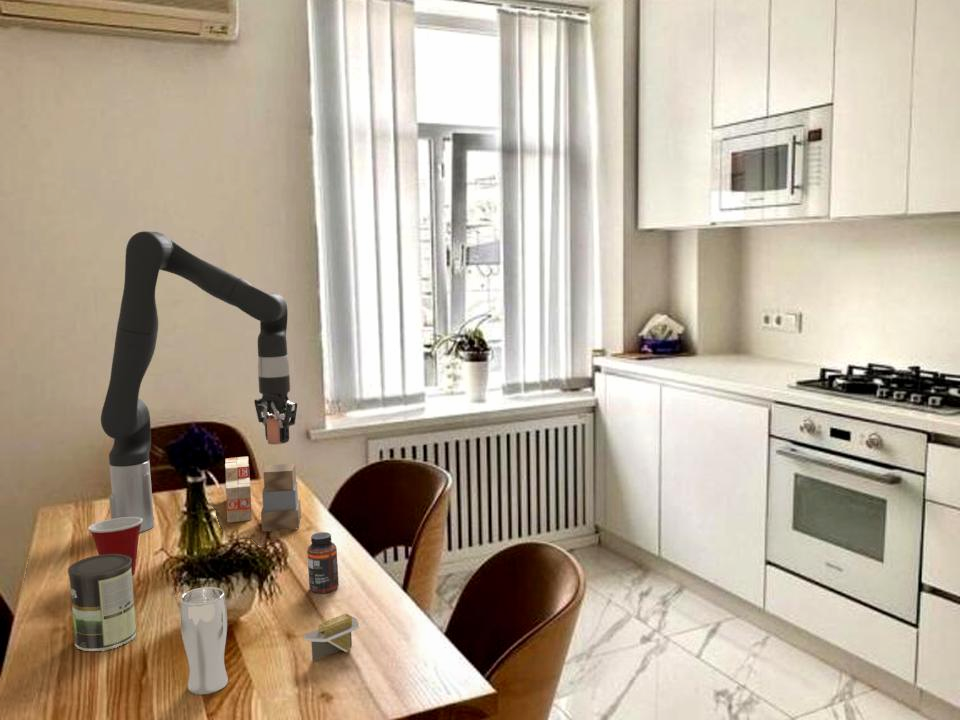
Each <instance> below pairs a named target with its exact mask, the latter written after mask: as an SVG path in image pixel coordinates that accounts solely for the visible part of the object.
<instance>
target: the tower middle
mask: <svg viewBox="0 0 960 720" xmlns="http://www.w3.org/2000/svg"><path fill="white" fill-rule="evenodd" d="M298 491H299V490H298V481H296V484H295V487H294V490H288V491H269V492H265V490H264V488H263V489H262V492H261V493H262V508H263V512H270V511H284V510H296V508H297V503H298V500H299V494H298Z"/></svg>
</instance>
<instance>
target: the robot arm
mask: <svg viewBox="0 0 960 720" xmlns="http://www.w3.org/2000/svg"><path fill="white" fill-rule="evenodd" d="M124 262H125V263H124V286H123V292H122V296H121V303H120V310H119V315H118V320H117V326H116V327H117V328H116V333H115V339H114V340H115V341H114V347H113V349H114V350H113V357H112V362H111V363H112V364H111V370H110V378H109V384H108V387H107V391H106V394H105V399H104V402H103V406H102V409H101V414H100V424H101V428H102V431H103V432H104V433H105V434H106V435H107V436H108V437H110V438H112V439H113V440H114V441H113V445H112V447H111V450H110V451H109V453H108V463H109V475H110V486H111V493H110V495H109V505H110V507H109V508H110V519H115V518H123V517H139V518H142V519H143V522H142V523H141V526H140V532H139V533H142V532H145V531H149V530H150V529H152V528H153V527H154V526H155V517H154V505H153V493H152V480H151V479H152V478H151V477H152V476H151V466H150V465H151V464H150V451H151V445H152V430H151V429H152V427H151V426H152V425H151V415H150V411H149V408H148V406H147V404H146V403H145V402H144V401H143V400H141V399H140V398H139V395H140V389H141V384H142V381H143V379H144V376H145V374H146V373H147V370H148V368H149V366H150V364H151V362H152V360H153V357H154V354H155V350H156V346H157V339H158V331H159V314H158V309H157V304H156V286H157V282H158V277H159V273H160V271H163V272H168V273H170V274H173V275H176V276H178V277H181V278H183V279H185V280H187V281H189V282H191V283H192V284H194V285H195V286H196V287H198V288H200V289H201V290H202V291H203V292H205V293H207V294H208V295H210V296H212V297H214V298H216V299H218V300H219V301H222V302H224V303H226V304H228V305H231V306H234V307H236V308H237V309H239V310H240V311H241V312H243V313H244V314H247V315H248V316H250V317H251V318H253V319H254V320H257V321H259V323H260V324H259V325H260V331H259V334H258V336H257V358H258V361H257V373H258V374H257V375H258V390H259V391H258V392H259V393H260V395H262V397H260V398H255V399H254V407H255V412H256V416H257V420H258V422H259V423H262V424H263V426H264V433H265V434H264V435H265V439H266V440H267V441H268V438H267V419H269V418H272V417H275V418H276V419H277V420H278V422H279V426H280V428H279V429H280V442H281V443H284V444H286V443H285V442H287V443H288V442H290V427H291V426H294V425H296V417H297V410H298V402H297V401H296V402H292V401H290V400H289V396H288V393H289V392H290V391H291V381H290V379H291V378H290V364H289V363H290V362H289V359H288V357H289V356H288V342H287V330H288V317H289V316H288V315H289V314H288V306H287V301H286V299H285V298H284V297H283V296H282V295H280V294H278V293H277V292H270V293H269V292H265V291H263V290H261V289H259V288H257V287H255V286H253V285H252V284H251V282H249V281H248V280H246V279H244V278H242V277H240V276H238V275H236V274H234V273H231V272H229V271H227V270H225V269H223V268H221V267H219V266H217V265H214V264H212V263H211V262H208V261H206V260H204V259H201V258H200V257H198V256H196V255H195V254H193V253H191V252H189V251H188V250H186V249H185V248H184V247H182V246H180V245H179V244H177V243H176V242H175V241H173V240H172V239H171V238H169V237H167V235H165V234H163V233H161V232H157V231H144V230H143V231H139V232H136V233H135V234H133V235H132V236H131V237H130V238H129V240H128V242H127V243H126V248H125V261H124ZM282 418H284V419H285V421H284V423H283V420H282Z"/></svg>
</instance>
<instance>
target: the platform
mask: <svg viewBox="0 0 960 720" xmlns="http://www.w3.org/2000/svg"><path fill="white" fill-rule="evenodd" d="M341 617H343V618H341ZM323 624H327V625H323ZM317 625H318V629H316V630H313V631H310V632H308V633H305V634H304V635H303V640H304V641H307V642H311V655H312V656H311V657H312V659H311V661H312V662H315V661H314V660H316V661H318V660H320V659H322V657H323V658H324V656H325V657H327V655H328V656H330V655H332V654H334V652H335V653H337V652H339V651H343V652H345V653H348V652H351V646H352V645H353V641H352V632H353V631H356V630H358V629H359V628H360V626H359V621H358V619H357V618H356V617H354V616H352V615H350V614H349V613H347V612H345V613H343V614H340V615H338V616H335V617H332V618H331V619H328V620H325V621H322V622H320V623H318V624H317ZM336 651H337V652H336ZM331 653H332V654H331ZM329 654H330V655H329ZM319 658H320V659H319ZM317 659H318V660H317Z"/></svg>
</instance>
